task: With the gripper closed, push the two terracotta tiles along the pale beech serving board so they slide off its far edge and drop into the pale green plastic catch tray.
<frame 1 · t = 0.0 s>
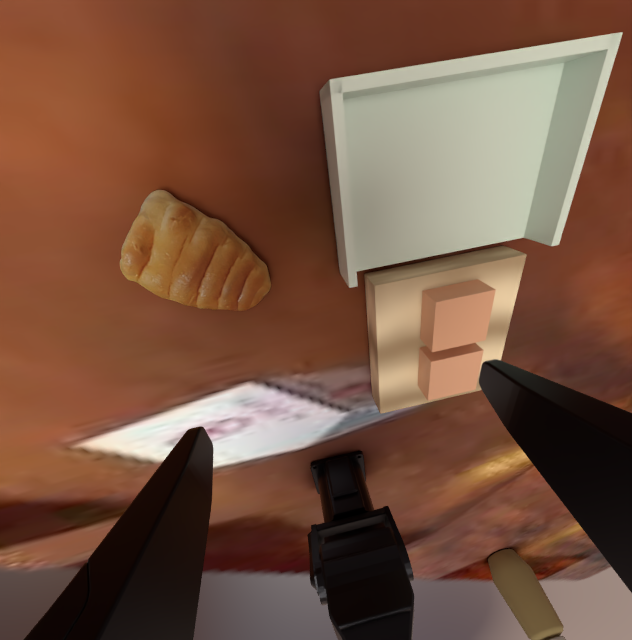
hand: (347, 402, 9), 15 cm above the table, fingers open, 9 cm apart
tile 2: (447, 310, 23), point 2 cm above the table, touching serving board
squeeze bottle: (499, 553, 61), on the table
catch tray: (440, 175, 20), on the table
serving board: (429, 329, 27), on the table
pastry: (199, 252, 21), on the table
tile 1: (442, 362, 26), point 2 cm above the table, touching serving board
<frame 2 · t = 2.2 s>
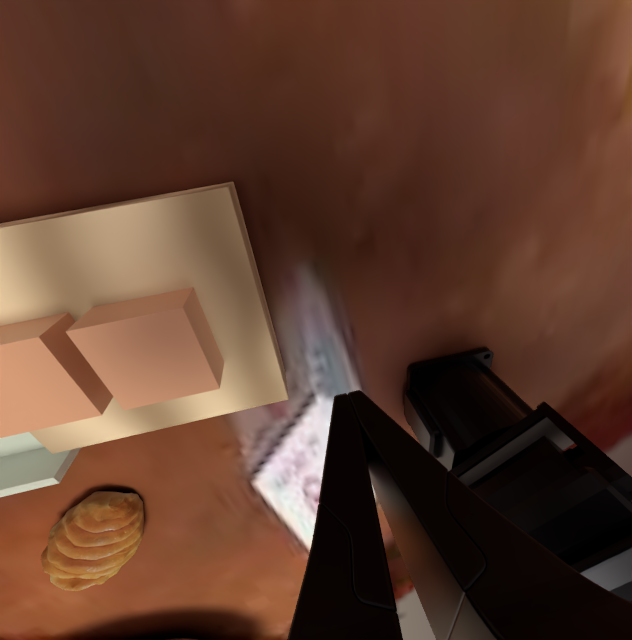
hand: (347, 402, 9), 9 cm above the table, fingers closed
tile 2: (48, 362, 14), point 2 cm above the table, touching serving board
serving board: (141, 320, 16), on the table
pastry: (104, 515, 25), on the table
tile 1: (164, 337, 14), point 2 cm above the table, touching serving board
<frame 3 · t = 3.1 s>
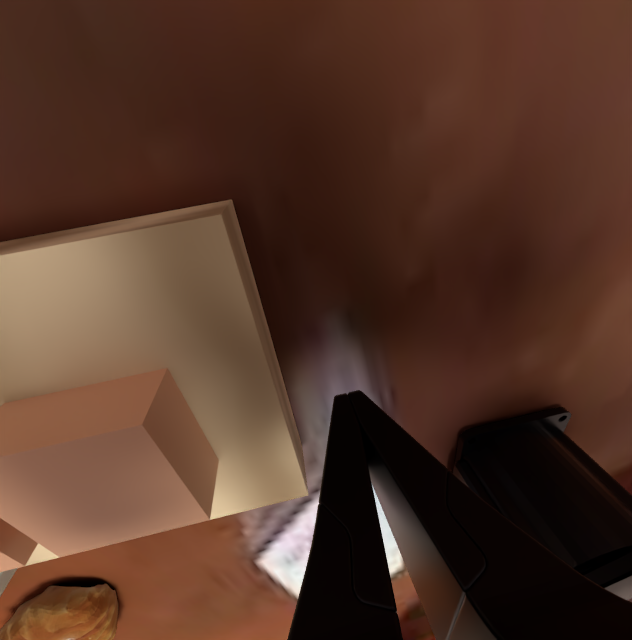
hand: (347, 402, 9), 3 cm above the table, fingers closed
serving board: (101, 393, 11), on the table
pastry: (69, 603, 20), on the table
tile 1: (126, 435, 9), point 2 cm above the table, touching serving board
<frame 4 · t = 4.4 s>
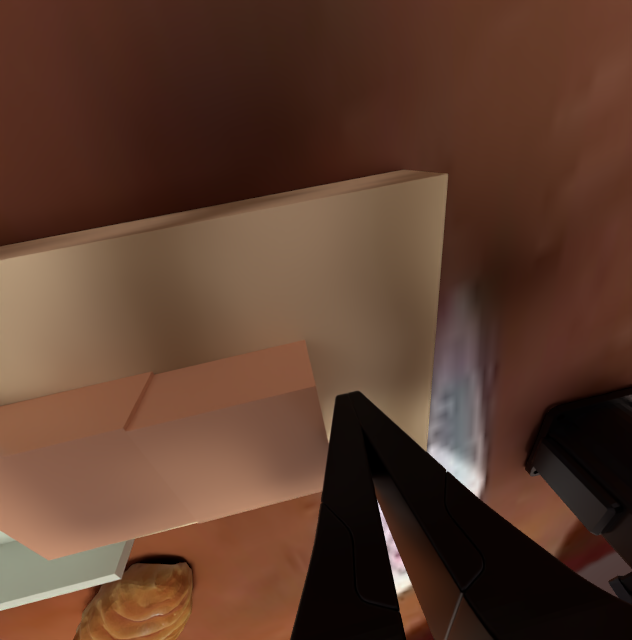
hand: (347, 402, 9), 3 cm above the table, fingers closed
tile 2: (114, 439, 9), point 3 cm above the table, touching tile 1
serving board: (239, 364, 12), on the table
pastry: (144, 583, 20), on the table
tile 1: (251, 408, 10), point 3 cm above the table, touching gripper, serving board, tile 2
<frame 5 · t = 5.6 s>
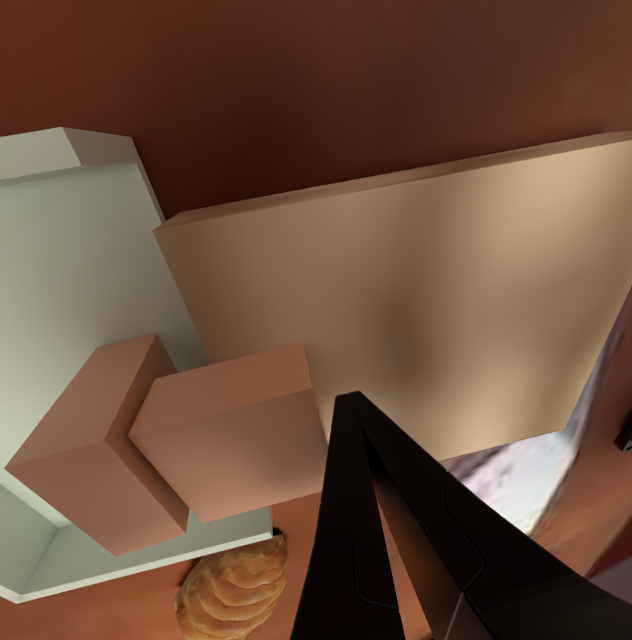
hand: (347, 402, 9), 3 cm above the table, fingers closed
tile 2: (169, 425, 9), point 3 cm above the table, tilted 86°, touching catch tray
catch tray: (82, 397, 11), on the table
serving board: (401, 327, 12), on the table
pastry: (234, 557, 21), on the table
tile 1: (252, 410, 10), point 3 cm above the table, touching gripper, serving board
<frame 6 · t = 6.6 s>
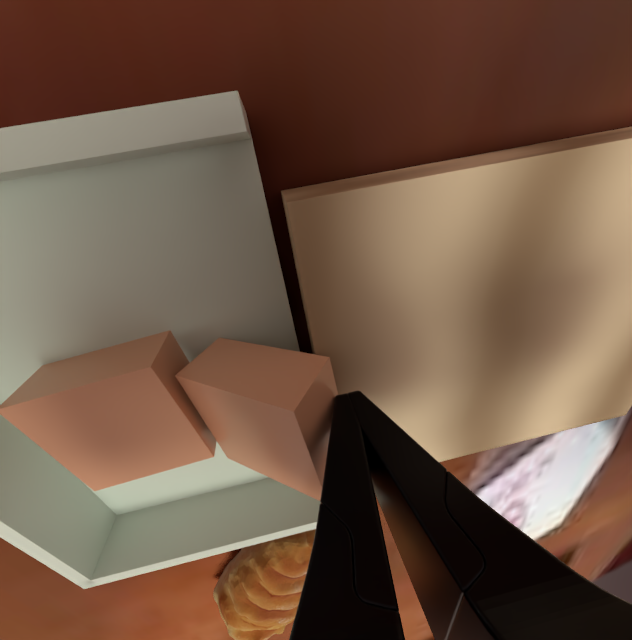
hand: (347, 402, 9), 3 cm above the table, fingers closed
tile 2: (119, 436, 9), point 2 cm above the table, tilted 180°, touching catch tray
catch tray: (158, 381, 11), on the table
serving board: (471, 312, 12), on the table
pastry: (272, 548, 21), on the table
tile 1: (285, 394, 10), point 2 cm above the table, tilted 37°, touching gripper
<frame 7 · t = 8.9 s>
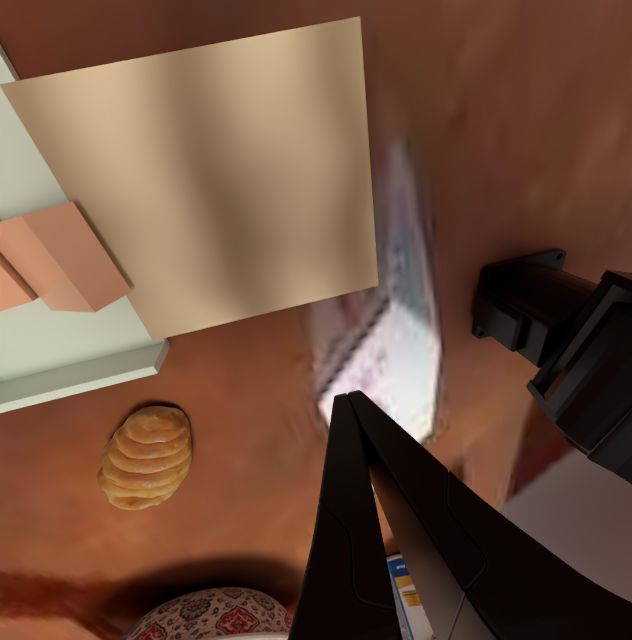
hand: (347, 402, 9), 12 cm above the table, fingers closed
ceramic bowl: (212, 597, 42), on the table
catch tray: (0, 255, 15), on the table
beverage bottle: (392, 561, 48), on the table
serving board: (239, 203, 16), on the table
pastry: (152, 440, 25), on the table
tile 1: (81, 253, 15), point 2 cm above the table, tilted 34°, touching catch tray, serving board
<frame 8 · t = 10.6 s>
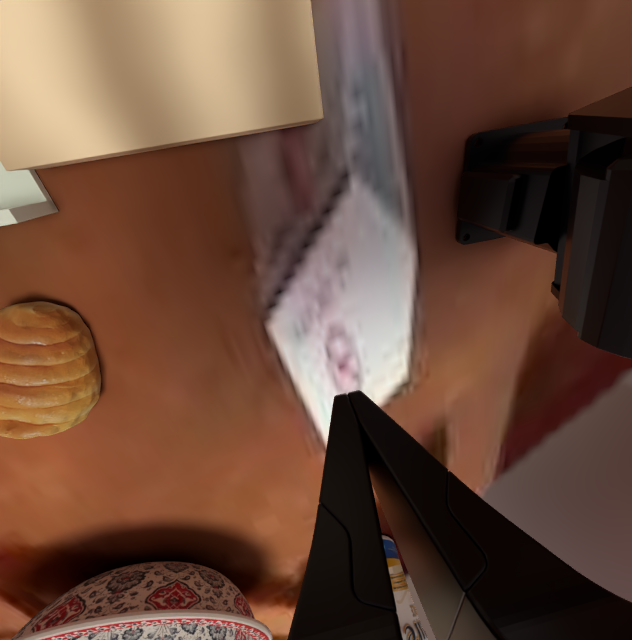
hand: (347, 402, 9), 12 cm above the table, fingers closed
ceramic bowl: (159, 575, 38), on the table
beverage bottle: (366, 545, 43), on the table
pastry: (51, 359, 20), on the table
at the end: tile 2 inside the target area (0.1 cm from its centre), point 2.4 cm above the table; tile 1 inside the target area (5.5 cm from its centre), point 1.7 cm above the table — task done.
